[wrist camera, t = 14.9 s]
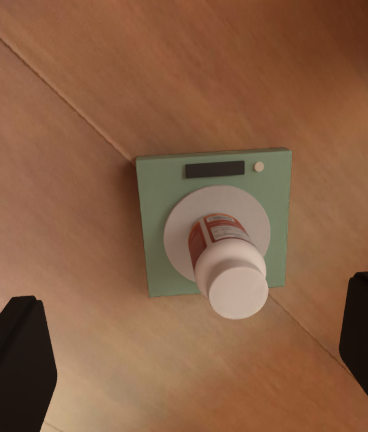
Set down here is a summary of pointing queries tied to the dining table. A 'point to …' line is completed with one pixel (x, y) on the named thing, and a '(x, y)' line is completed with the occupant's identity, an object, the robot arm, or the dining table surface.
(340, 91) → the dining table surface
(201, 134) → the dining table surface
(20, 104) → the dining table surface
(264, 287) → the pill bottle
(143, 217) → the scale
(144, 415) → the dining table surface
